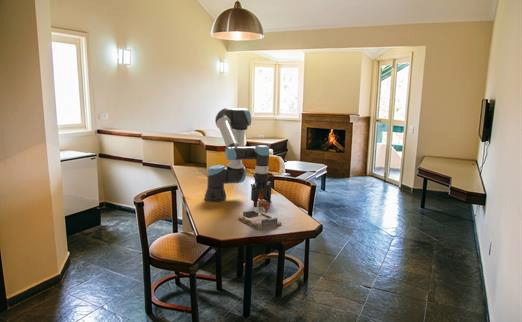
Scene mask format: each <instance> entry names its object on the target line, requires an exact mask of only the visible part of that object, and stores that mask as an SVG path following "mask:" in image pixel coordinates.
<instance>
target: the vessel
mask: <svg viewBox="0 0 522 322" xmlns="http://www.w3.org/2000/svg"><path fill="white" fill-rule="evenodd" d="M255 173H256V172H253V179H254V182H255V181H256V180H255ZM267 173H268V179H267V180H268V181H269V182H271V184H272V183H273V180H274V177H275V174H274V173H271V172H269V171H268V172H267ZM258 189H259V188H258ZM258 198H259V199H260V200H263V199H264V198H263V192H262V189H261V191H260V193H259V197H258ZM267 202H269V203H270V204H271V203H272V202H273V201H272V188H271V189H270V199H269V200H267Z"/></svg>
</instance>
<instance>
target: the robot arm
mask: <svg viewBox="0 0 522 322" xmlns="http://www.w3.org/2000/svg"><path fill="white" fill-rule="evenodd" d="M215 125H216V127H217V129H219V131H220V134H221V136H222V139H223V141H224V144H225V147H226V148H225V150H224V154H225V159H226V160H227V161H229V162H228V163H227V165H226V166H225V165H223V164H214V165H211V166H209V167H208V168H207V173H206V175H207V178H206V179H207V184H206V186H207V187H206V190H205V193H204V200H206V201H209V202H223V201H225V200H227V194H226V190H225V185H226V184H227V185H228V184H240V183H244V181H245V180H246V177H247V169H246V167H245V165H244V164H243V161H244V160H249V161H250V160H254V161H255V168H254V169H255V170H254V171H255V172H256V173H255V172H254V173H255V179H254V183H251V184H250V187H251V191H250V192H251V195H250V200H251V201H252V202H253V208H254V209H255V211H254V212H256V213H259V211H258V210H259V202H258V197H259V193H260V191H261V189H262V192H263V198H264V199H263V200H262V201H266V202H267V200H269V199H270V189H271V190H272V183H271V182H269V181H268V180H267V179H268V173H269V167H270V165H269V163H270V147H269V146H268V145H251V146H244V145H245V135H246V131H247V130H248V127H250V126H251V125H252V115H251V112H250V110H249V109H248V108H243V107H238V108H237V107H234V108H233V107H231V108H230V107H225V108H222V109H221V110H219V111H218V113H217V114H216V115H215ZM267 172H268V173H267ZM255 180H256V181H255ZM258 188H259V189H258ZM261 210H262V211H263V212H265V211H266V210H265V208H263V209H262V208H261Z"/></svg>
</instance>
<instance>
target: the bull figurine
mask: <svg viewBox="0 0 522 322" xmlns="http://www.w3.org/2000/svg"><path fill="white" fill-rule="evenodd" d="M258 202H259V208H258V212H260V211H261V210H262V209H263V208H265V210H266V211H264V213H265V214H268V212H269V211H270V208H271V203H269V202H266V201H262V200H260V199H259V198H258ZM254 211H255V210H254Z"/></svg>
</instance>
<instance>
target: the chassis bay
mask: <svg viewBox="0 0 522 322" xmlns="http://www.w3.org/2000/svg"><path fill="white" fill-rule="evenodd" d="M254 210H255V208H253V209H249V210H244V211H242V214H243V215H242V216H241V215H240V216H238V219H237V220H239V221H241V222H243V223H244V224H246V225H248V226H251V228H252V227H253V229H256V230H258V231H263V230H264V231H265V230H267V229H272V228H276V227H279V226H282V225H283V224H282V223H283V222H282V221H279V220H278V218H277V217H274V216H272V215H270V214H268V213H267V214H265V213H266V212H264V211H263V212H260V211H258V213H256V212H254Z"/></svg>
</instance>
